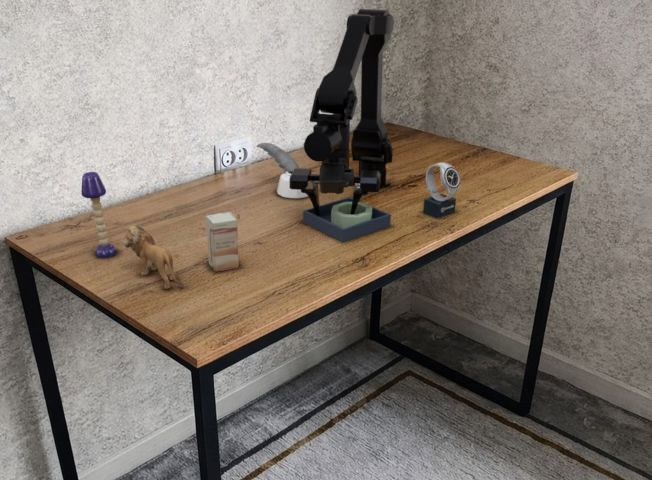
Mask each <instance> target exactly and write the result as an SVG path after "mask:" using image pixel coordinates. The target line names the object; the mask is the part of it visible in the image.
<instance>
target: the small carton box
mask: <svg viewBox="0 0 652 480" xmlns="http://www.w3.org/2000/svg"><path fill="white" fill-rule="evenodd" d="M205 221H206V239H207V240H206V241H207V258H208V264H209V266H210V267H211V268H212V270H213V271H214V272H222V271H228V270H234V269H238V268H239V267H240V266H239V265H240V264H239V263H240V261H239V237H238V235H239V233H238V219H237V217H236V216H235V215H234V214H233V213H232V212H231V211H226V212H219V213H214V214H207V215H205Z"/></svg>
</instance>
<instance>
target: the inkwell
mask: <svg viewBox="0 0 652 480" xmlns="http://www.w3.org/2000/svg"><path fill="white" fill-rule="evenodd" d="M256 148H258V149H259V148H260V149H262V150H263V151H264V152H267V153H266V154H267V155H268V156H269V157H271V158H274V162H276V163H277V164H278V167H279V168H281V169H283V171H284V172H282V173H281V174H280V176H279V180H278V184H277V188H276V193H277V195H278V196H280V197H282V198H286V199H297V200H298V199H305V198H309V197H308V195H307V194H306V193H302V192H301V190H299V189H290V182H289V181H290V176H291V174H292V171H293V170H294V169H295V168H299V164H298V163H297V162H296V160H295V159H294V158H293V157H292V156H291V154H289V153H288V152H286V151H285V150H284V149H282V148H281V147H279V146H277V145H276V144H274V143H270V142H261V143H258V144H257V145H256Z"/></svg>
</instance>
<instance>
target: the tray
mask: <svg viewBox="0 0 652 480" xmlns="http://www.w3.org/2000/svg"><path fill="white" fill-rule="evenodd" d="M352 201H353V197H351V196H348V197H344V198H340V199H337V200H334V201H331V202H327V203H324V204H320V217H318V216H316V213H315V210H314V207H311V208H307V209H304V210H302V223H304V224H305V225H308V226H310V227H311V228H314V229H316V230H317V231H320V232H322V233H324V234H325V235H328V236H329V237H332V238H333V239H336V240H338V241H340V242H341V243H345V242H347V241H350V240H351V241H352V240H354V239H357V238H359V237H363V236H365V235H369V234H372V233H374V232H377V231H380V230H384V229H387V228H390V227H391V220H392V214H390V213H388V212H386V211H384V210H381V209H379V208H377V207H374V206H373V205H370V204H367V203H365V202H362V201H360V200H359V202H362V203H364V204H366V205H369V206H371V207H372V220H369V221H365V222H362V223H359V224H356V225H353V226H350V227H347V228H344V229H343V228H341V227H339V226H337V225H335V224H333V223H331V211H332V207H333V205H337V204H340V203H343V202H352Z"/></svg>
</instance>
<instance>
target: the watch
mask: <svg viewBox="0 0 652 480" xmlns="http://www.w3.org/2000/svg"><path fill="white" fill-rule="evenodd" d="M437 167H439V172H440V182H441V185H442V187H443V188H444V189H445V191H446V194H444V193H439V189H438V187H437V182H436V179H435V178H436V177H435V176H434V172H435V169H436V168H437ZM424 178H425V185H426V188H427V191H428V194H429V195H430V197H428V198H424V200H423V212H422V213H423V214H425V215H428V216H430V217H433V218H436V219H440V218H443V217H445V216H448V215H451V214H454V213H455V212H456V202H457V198H455V196H456V195H457V192H458V191H459V188H460V186H461V182H462V181H461V180H462V178H461V174H460V172H459V170H458V169H457V168H455V167H454V166H453V165H452V164H450V163H447V162H445V161H442V162H438V163H435V164H432V165H430V166H429V167H428V168H427V170H426V171H425V177H424Z"/></svg>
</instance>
